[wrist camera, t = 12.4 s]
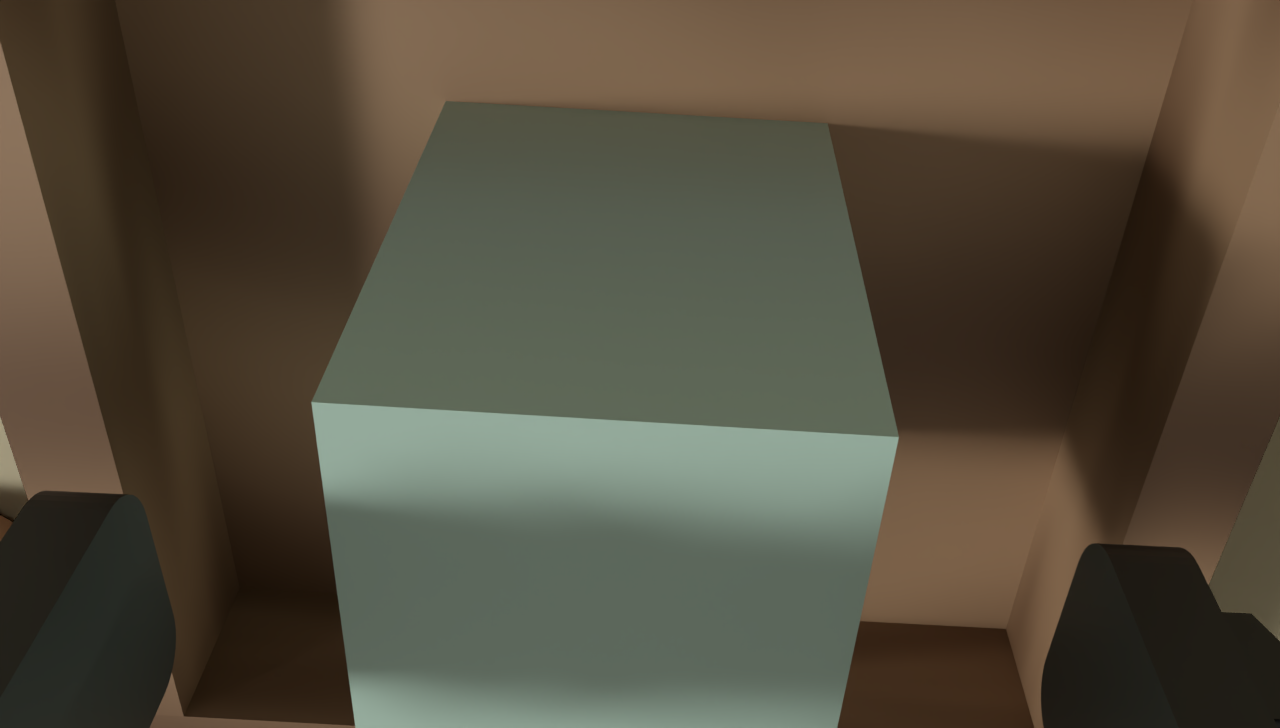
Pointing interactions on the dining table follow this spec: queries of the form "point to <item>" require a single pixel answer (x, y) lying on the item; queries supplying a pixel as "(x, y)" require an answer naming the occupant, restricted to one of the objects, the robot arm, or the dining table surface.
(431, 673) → the sage block
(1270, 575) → the dining table surface
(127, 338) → the tray
